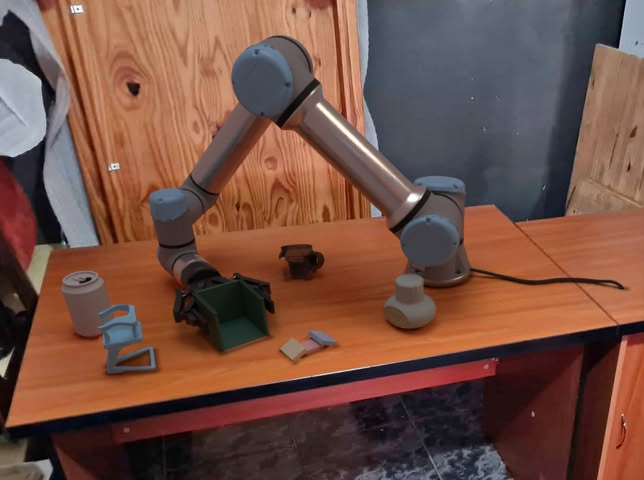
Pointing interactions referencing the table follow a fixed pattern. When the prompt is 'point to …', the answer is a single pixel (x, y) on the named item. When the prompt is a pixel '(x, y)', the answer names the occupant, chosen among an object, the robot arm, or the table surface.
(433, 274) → the robot arm
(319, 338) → the blue packet
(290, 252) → the pottery mug
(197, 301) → the open box
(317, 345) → the block
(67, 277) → the can
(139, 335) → the chair
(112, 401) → the table surface
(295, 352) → the block
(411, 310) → the air freshener
